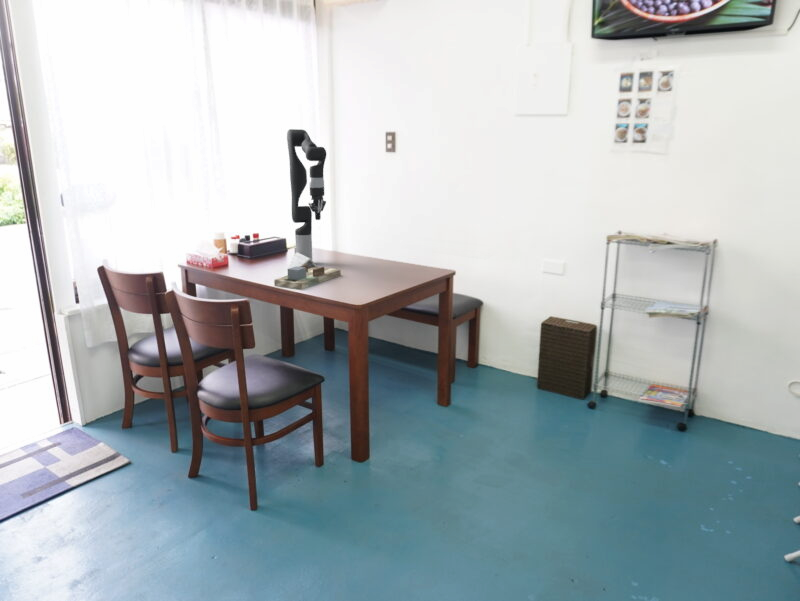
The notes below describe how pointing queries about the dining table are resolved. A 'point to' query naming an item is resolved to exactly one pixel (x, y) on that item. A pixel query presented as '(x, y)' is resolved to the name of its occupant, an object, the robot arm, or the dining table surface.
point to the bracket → (301, 261)
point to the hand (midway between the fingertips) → (317, 219)
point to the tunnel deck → (308, 277)
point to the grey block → (297, 273)
